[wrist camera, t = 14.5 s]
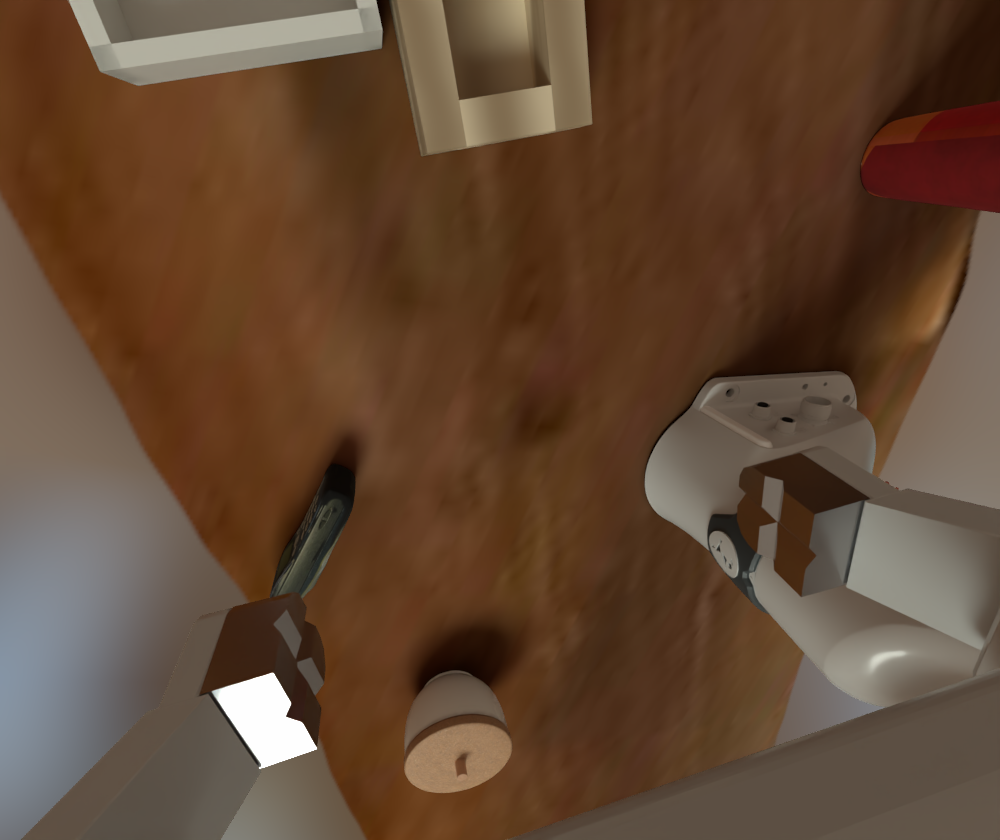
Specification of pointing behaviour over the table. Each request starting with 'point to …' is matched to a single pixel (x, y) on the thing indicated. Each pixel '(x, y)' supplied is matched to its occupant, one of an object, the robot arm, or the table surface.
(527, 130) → the socket block
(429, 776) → the lidded jar
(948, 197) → the paper cup
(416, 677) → the table surface
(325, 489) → the mobile phone
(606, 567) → the table surface
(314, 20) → the grey tray
